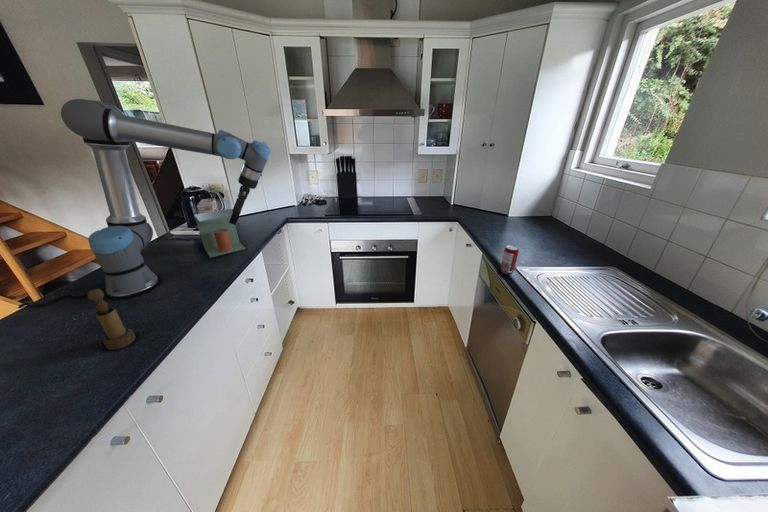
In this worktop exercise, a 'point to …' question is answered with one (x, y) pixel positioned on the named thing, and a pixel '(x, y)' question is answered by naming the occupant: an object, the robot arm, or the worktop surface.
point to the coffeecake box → (207, 206)
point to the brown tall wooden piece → (111, 323)
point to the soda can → (509, 258)
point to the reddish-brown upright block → (223, 240)
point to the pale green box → (214, 222)
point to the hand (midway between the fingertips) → (234, 216)
